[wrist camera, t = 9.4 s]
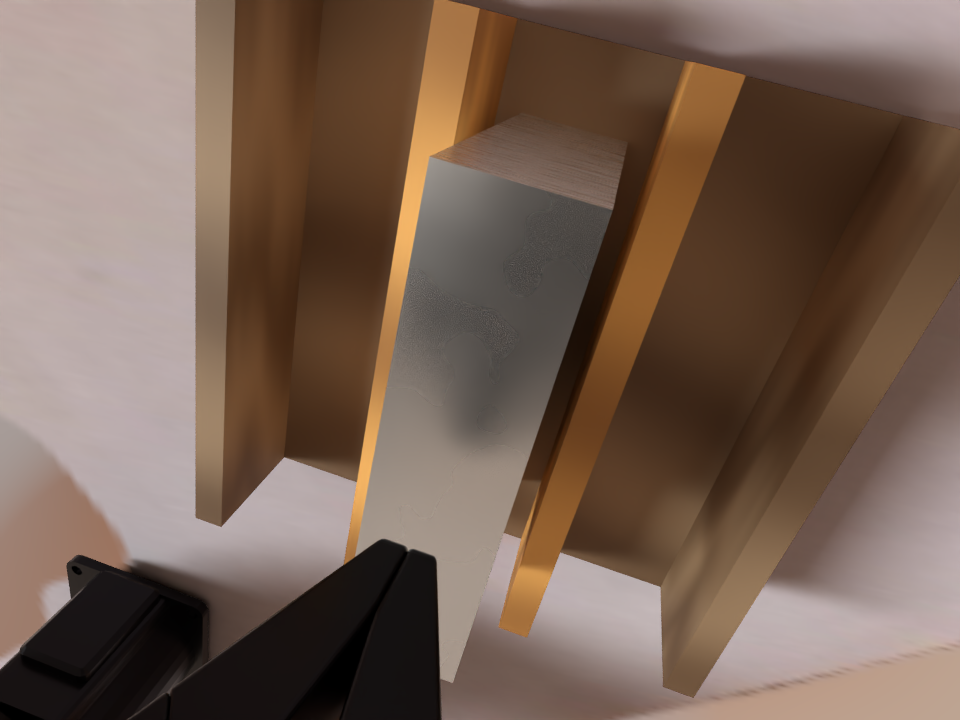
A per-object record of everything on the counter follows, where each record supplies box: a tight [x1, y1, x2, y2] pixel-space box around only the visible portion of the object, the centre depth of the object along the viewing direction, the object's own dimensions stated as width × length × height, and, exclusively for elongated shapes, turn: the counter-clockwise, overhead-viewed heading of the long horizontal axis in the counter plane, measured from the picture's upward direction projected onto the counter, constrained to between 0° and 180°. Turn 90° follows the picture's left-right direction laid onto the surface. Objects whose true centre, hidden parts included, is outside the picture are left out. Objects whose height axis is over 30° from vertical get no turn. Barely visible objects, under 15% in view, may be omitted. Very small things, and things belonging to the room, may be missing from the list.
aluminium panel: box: [355, 113, 628, 683], centre depth 14 cm, size 10×2×7 cm, turn 167°
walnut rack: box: [196, 0, 960, 698], centre depth 16 cm, size 14×14×4 cm
